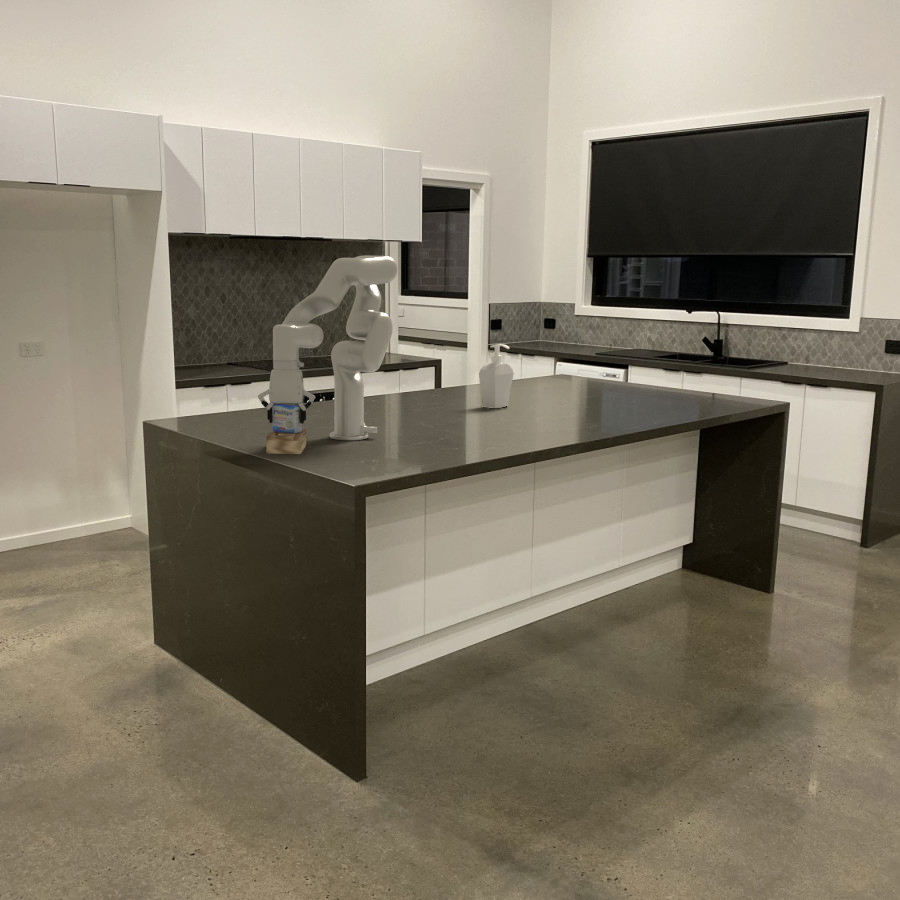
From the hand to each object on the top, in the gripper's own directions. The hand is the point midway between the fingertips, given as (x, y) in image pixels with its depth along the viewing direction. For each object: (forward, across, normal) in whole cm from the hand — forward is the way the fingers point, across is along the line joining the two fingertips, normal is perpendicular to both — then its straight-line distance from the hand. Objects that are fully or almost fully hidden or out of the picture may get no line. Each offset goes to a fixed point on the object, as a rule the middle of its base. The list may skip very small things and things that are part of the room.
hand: (286, 422), depth 275 cm
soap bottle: (+9, -71, -94) cm, 118 cm away
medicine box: (+3, 0, 0) cm, 3 cm away
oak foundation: (+8, 0, 0) cm, 8 cm away
